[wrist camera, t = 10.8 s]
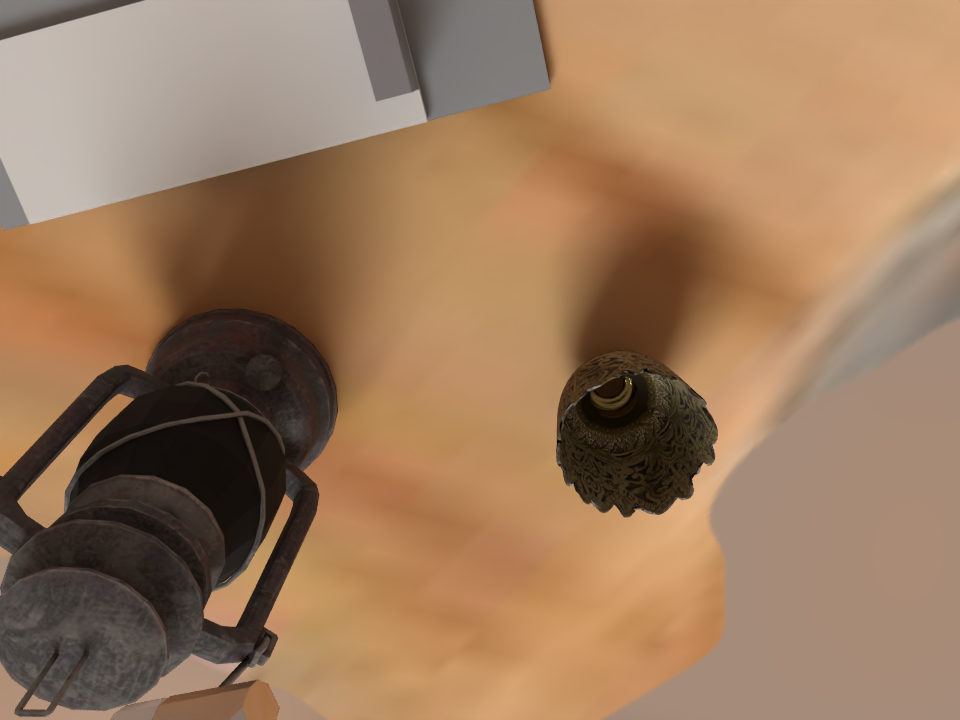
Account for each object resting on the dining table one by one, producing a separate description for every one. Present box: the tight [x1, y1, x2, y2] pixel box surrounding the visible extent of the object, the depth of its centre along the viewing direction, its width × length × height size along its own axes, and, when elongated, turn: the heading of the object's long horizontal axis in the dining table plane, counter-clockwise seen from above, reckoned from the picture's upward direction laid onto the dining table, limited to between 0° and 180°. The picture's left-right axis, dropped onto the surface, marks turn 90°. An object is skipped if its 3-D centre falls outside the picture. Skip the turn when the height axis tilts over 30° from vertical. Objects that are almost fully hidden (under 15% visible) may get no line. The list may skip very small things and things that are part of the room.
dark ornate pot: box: [556, 351, 718, 517], centre depth 40 cm, size 8×7×8 cm
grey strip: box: [0, 0, 428, 225], centre depth 34 cm, size 20×8×6 cm, turn 104°
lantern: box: [0, 309, 338, 717], centre depth 30 cm, size 12×11×30 cm
